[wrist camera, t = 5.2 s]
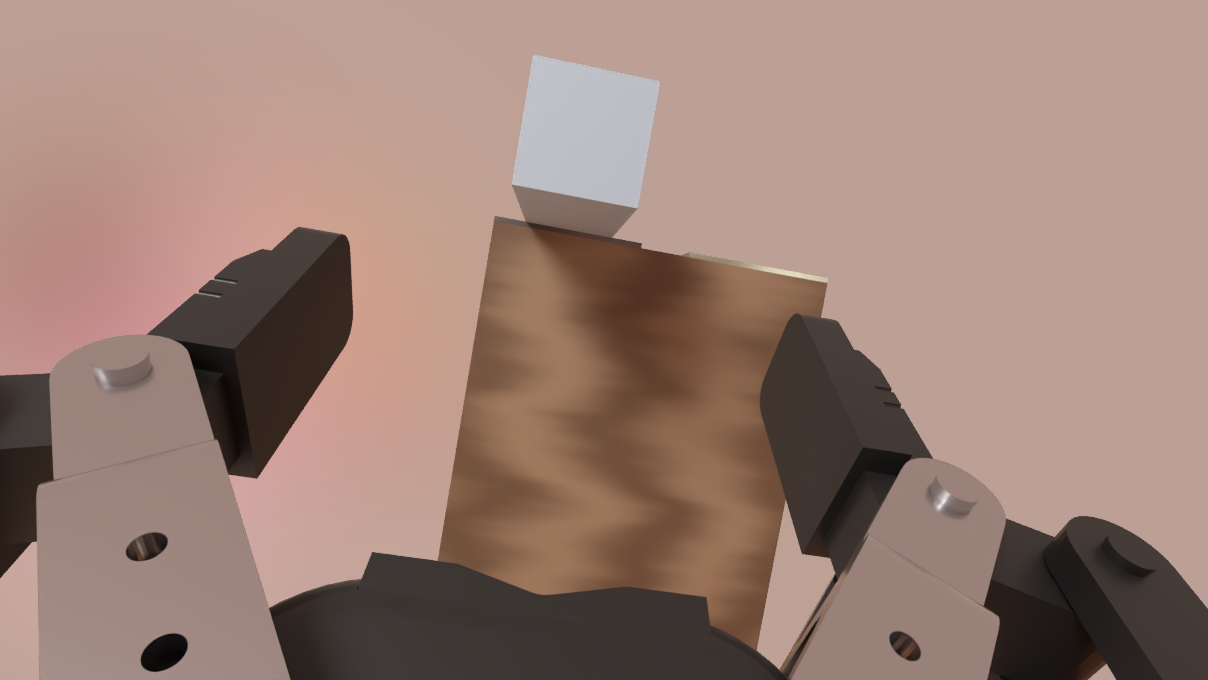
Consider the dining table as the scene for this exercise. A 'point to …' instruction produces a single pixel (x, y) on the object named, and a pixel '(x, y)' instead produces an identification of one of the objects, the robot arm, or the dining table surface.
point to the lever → (583, 146)
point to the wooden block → (622, 421)
